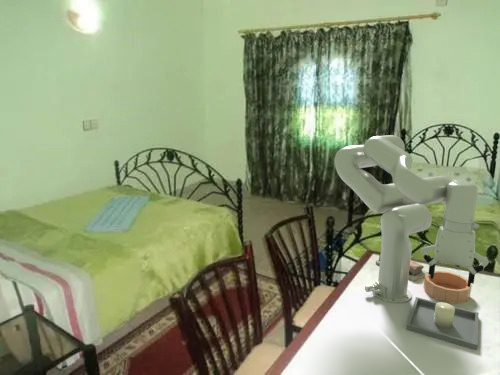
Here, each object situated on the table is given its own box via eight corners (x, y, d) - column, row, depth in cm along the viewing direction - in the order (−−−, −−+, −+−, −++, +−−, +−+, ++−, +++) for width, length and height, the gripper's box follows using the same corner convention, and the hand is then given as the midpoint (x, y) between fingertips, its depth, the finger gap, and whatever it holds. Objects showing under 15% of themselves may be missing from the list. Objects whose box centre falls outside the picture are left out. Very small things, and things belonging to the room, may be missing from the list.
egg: (441, 329, 113) (444, 313, 112) (429, 319, 118) (431, 303, 117) (456, 326, 114) (459, 310, 113) (443, 317, 119) (446, 301, 118)
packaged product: (375, 253, 156) (391, 248, 161) (374, 264, 157) (390, 258, 162) (415, 270, 141) (431, 264, 147) (413, 282, 143) (429, 275, 148)
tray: (476, 352, 104) (477, 345, 104) (405, 331, 113) (406, 324, 113) (477, 319, 119) (478, 312, 119) (415, 302, 128) (416, 296, 128)
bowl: (443, 306, 126) (445, 293, 125) (415, 286, 139) (416, 273, 138) (478, 301, 130) (480, 287, 128) (447, 281, 143) (449, 269, 141)
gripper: (493, 226, 107) (484, 282, 111) (425, 216, 116) (420, 269, 120) (493, 235, 101) (484, 294, 105) (422, 224, 109) (416, 279, 114)
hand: (450, 280), depth 112 cm, fingers open, 9 cm apart
